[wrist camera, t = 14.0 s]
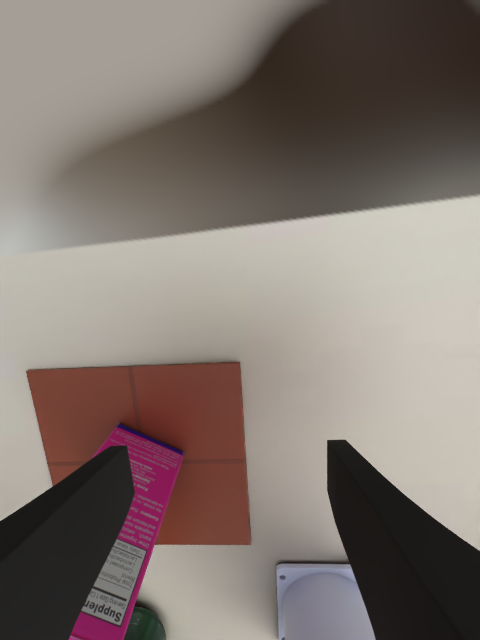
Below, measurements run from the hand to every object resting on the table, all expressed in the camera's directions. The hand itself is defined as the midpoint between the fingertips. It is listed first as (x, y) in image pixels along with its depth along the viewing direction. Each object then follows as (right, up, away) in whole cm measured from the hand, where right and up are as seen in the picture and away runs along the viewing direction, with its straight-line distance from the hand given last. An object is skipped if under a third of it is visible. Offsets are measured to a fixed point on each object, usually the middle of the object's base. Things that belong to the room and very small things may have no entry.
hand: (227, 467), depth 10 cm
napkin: (-7, -6, +12) cm, 15 cm away
